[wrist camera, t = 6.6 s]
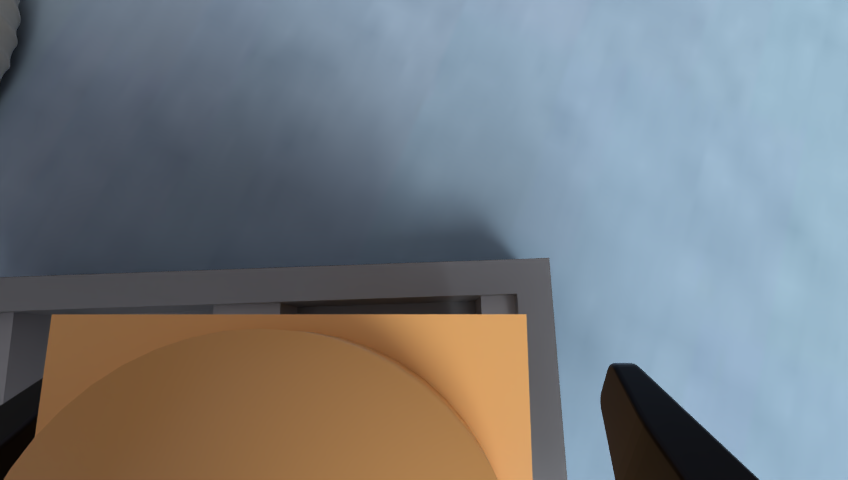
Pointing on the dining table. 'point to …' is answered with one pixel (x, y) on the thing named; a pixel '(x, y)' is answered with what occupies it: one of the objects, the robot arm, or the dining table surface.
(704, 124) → the dining table surface
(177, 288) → the tray
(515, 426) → the post
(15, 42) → the canister
